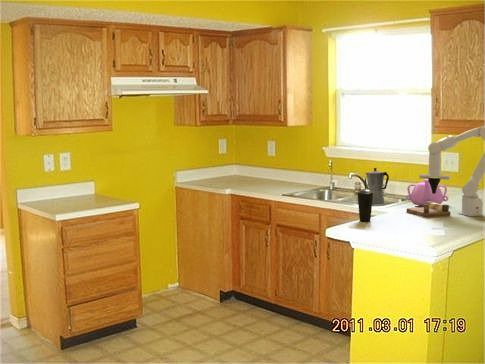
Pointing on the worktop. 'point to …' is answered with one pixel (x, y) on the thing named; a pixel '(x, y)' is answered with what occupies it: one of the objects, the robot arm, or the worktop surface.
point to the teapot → (426, 194)
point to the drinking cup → (365, 204)
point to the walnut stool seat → (427, 211)
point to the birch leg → (438, 206)
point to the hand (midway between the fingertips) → (434, 193)
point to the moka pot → (377, 185)
